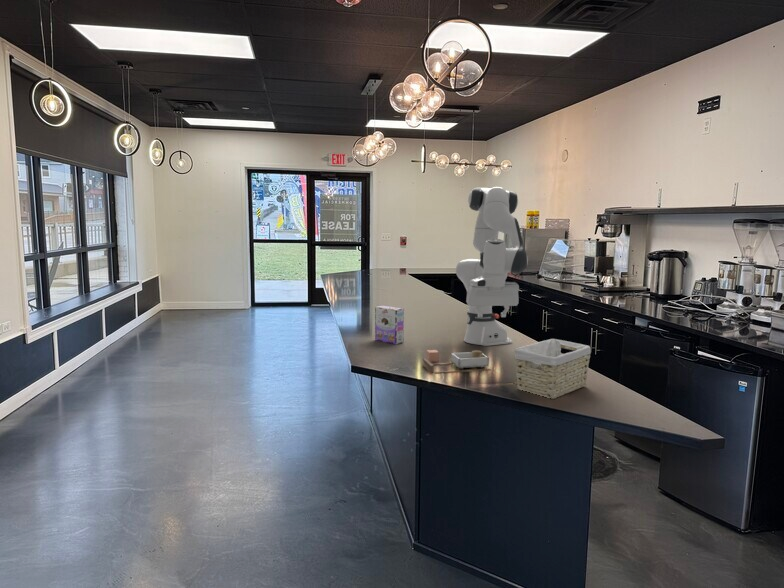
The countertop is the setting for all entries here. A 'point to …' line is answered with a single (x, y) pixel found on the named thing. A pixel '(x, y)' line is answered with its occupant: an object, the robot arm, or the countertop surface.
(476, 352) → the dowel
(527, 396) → the countertop surface
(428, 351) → the block
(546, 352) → the storage basket
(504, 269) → the robot arm
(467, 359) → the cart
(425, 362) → the track
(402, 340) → the candy box
